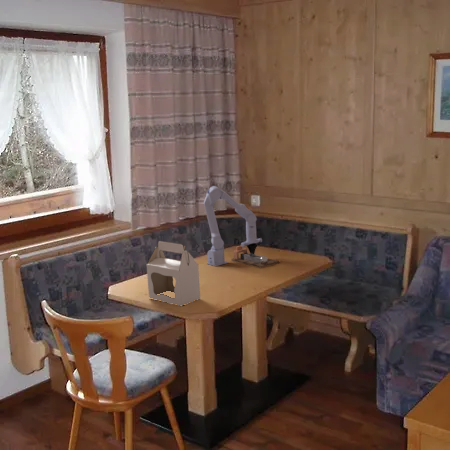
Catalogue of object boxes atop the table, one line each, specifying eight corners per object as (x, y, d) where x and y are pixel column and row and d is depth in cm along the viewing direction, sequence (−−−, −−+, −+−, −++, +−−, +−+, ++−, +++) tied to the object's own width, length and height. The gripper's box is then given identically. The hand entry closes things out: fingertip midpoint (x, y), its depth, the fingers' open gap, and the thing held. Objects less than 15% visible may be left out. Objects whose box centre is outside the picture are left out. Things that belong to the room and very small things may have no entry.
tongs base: (269, 263, 363) (268, 257, 363) (263, 264, 361) (263, 258, 360) (246, 257, 378) (245, 251, 377) (240, 259, 375) (240, 253, 374)
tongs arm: (263, 261, 367) (263, 256, 366) (261, 261, 366) (261, 256, 365) (246, 257, 378) (246, 252, 377) (244, 257, 377) (244, 252, 376)
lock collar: (247, 256, 380) (246, 245, 378) (237, 259, 375) (236, 248, 373) (243, 255, 382) (243, 244, 381) (233, 258, 377) (233, 247, 376)
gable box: (201, 299, 310) (197, 242, 304) (182, 307, 300) (178, 248, 295) (167, 291, 324) (164, 237, 319) (148, 299, 314) (144, 242, 309)
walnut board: (279, 262, 367) (279, 261, 367) (261, 268, 358) (261, 266, 358) (249, 255, 386) (249, 254, 386) (231, 260, 377) (231, 258, 377)
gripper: (246, 236, 364) (247, 260, 367) (265, 231, 373) (266, 254, 376) (238, 234, 369) (239, 258, 372) (256, 230, 379) (257, 252, 381)
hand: (252, 256), depth 375 cm, fingers closed, pressing on tongs arm
